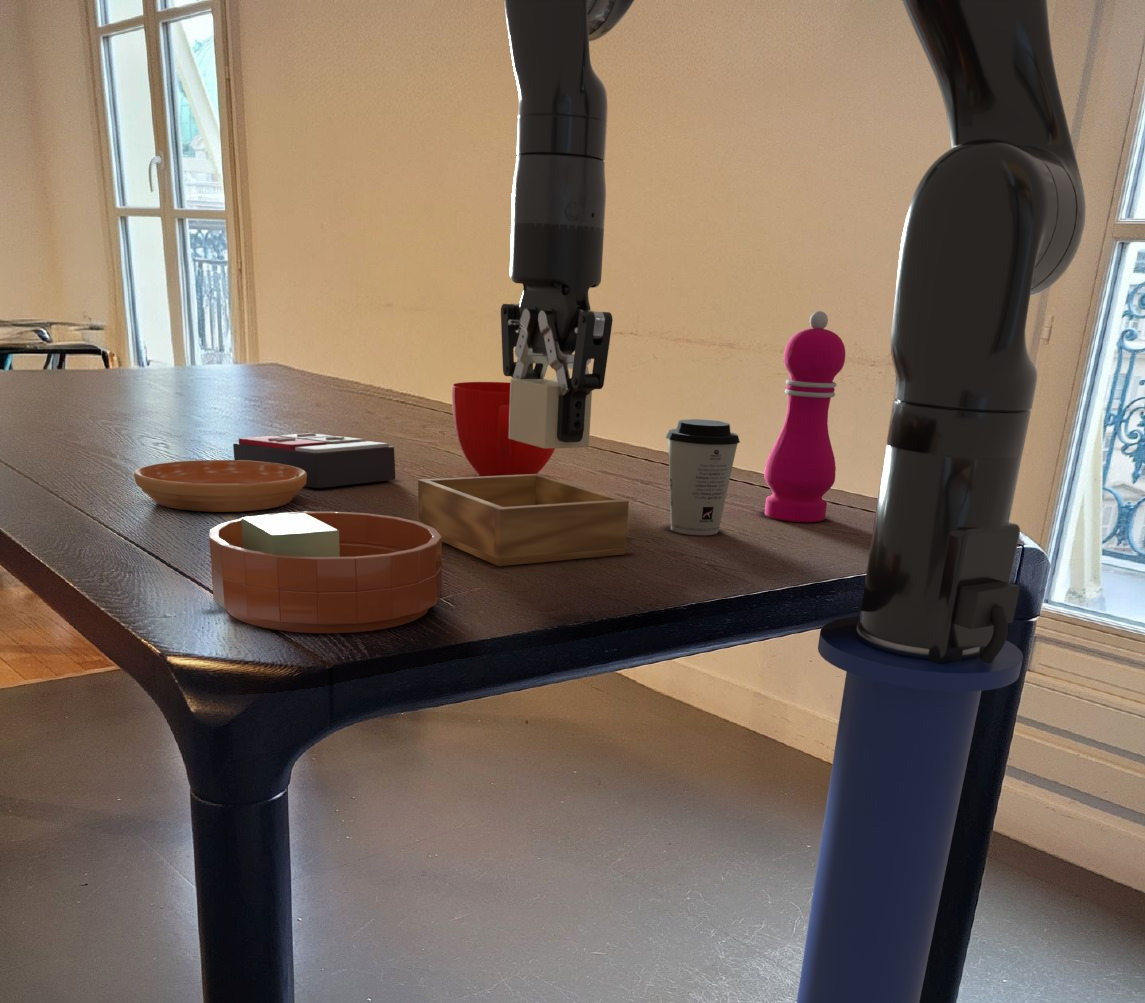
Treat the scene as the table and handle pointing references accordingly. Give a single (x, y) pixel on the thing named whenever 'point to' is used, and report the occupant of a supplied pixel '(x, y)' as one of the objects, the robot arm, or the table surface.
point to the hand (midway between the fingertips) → (548, 435)
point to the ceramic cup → (492, 431)
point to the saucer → (221, 484)
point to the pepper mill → (805, 426)
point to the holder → (523, 518)
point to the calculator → (323, 457)
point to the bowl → (331, 576)
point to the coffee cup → (699, 474)
